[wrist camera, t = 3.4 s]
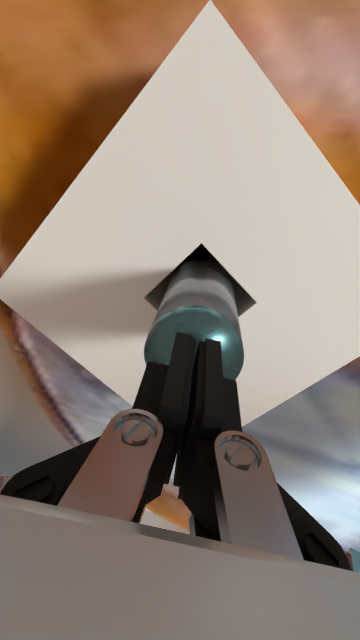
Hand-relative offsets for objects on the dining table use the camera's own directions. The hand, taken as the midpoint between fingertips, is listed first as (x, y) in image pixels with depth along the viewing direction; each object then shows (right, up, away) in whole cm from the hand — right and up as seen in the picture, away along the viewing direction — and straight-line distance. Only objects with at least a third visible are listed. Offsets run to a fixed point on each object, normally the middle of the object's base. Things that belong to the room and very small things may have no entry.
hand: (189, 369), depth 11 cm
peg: (+1, +4, +8) cm, 9 cm away
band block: (+2, +6, +13) cm, 15 cm away
